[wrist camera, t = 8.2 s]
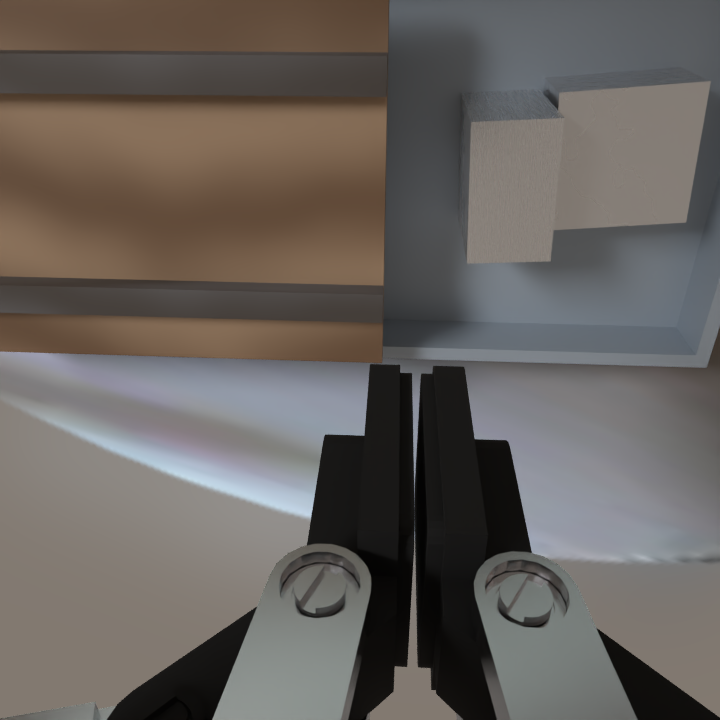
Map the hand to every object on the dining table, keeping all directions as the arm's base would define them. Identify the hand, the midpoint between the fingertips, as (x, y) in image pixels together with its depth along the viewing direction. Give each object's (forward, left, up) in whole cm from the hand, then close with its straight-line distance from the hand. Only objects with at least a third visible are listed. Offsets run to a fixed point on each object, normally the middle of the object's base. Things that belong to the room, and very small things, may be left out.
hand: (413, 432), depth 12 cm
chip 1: (0, +2, -16) cm, 16 cm away
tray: (0, +4, -19) cm, 19 cm away
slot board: (0, -11, -19) cm, 22 cm away
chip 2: (-1, +8, -15) cm, 17 cm away
